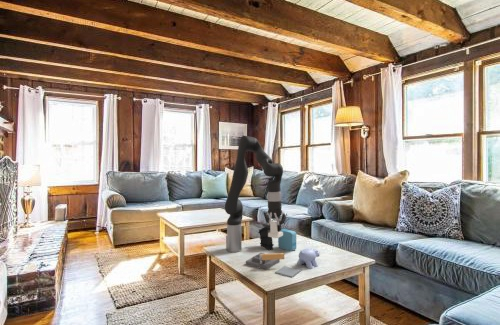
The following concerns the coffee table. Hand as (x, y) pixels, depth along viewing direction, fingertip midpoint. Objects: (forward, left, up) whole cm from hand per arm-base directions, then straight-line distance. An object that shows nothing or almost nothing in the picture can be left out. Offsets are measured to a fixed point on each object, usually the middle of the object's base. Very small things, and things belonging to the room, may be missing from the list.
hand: (275, 230), depth 159 cm
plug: (0, 0, -3) cm, 3 cm away
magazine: (-23, +26, -21) cm, 41 cm away
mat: (+9, -2, -20) cm, 22 cm away
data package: (-10, +32, -21) cm, 40 cm away
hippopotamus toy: (+13, +15, -21) cm, 29 cm away
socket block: (-9, +1, -20) cm, 22 cm away
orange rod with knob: (-2, -1, -16) cm, 16 cm away
